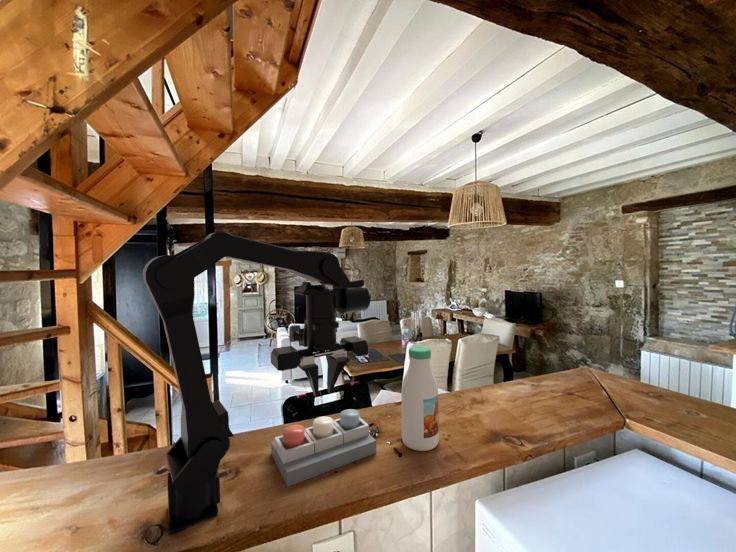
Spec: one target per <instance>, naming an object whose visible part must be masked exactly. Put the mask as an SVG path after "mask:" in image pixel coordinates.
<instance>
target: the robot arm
mask: <svg viewBox="0 0 736 552" xmlns="http://www.w3.org/2000/svg"><path fill="white" fill-rule="evenodd" d="M223 259H231V260H236V261H241V262H246V263H251V264H255V265H260V266H265V267H270V268H276V269H280V270H284V271H287V272H289V273H291V274H293V275H295V276H297V277H299V278H302V279H305V280H307V281H303V282H302V284H301V285H300V286H299V287H297V289H295V291H294V293H295V295H300V296H305V305H306V309H305V310H306V311H305V313H306V315H305V316H306V319H305V320H304V323H303V328H301V326H300V325H292V326H289V327H288V329H289V330H288V331H289V333H288V334H289V342H290V343H297V342H298V346H299V347H301V346H302V347H303V348H302V349H296V348H295V347H294V346H292V345H287V346H282V347H281V346H280V347H275V348H273V349H272V350H271V352H270V364H271V365H272V366H273V367H274V368H275V369H276V370H277V371H279V372H284V371H288V370H295V369H297V368H299V369H300V370H301V371H303V372H304V373H305V375H306V377H307V380H308V383H309V385H310V388H311V391H312V393H313V395H314V397H316V398H317V397H318V396H319V390H320V389H319V386H320V385H319V383H320V382H319V365H318V364H316V363H315V358H321V357H325V359H326V362H327V370H326V371H327V372H326V373H327V374H326V375H327V376H326V377H327V378H326V388H327V389H326V390H327V393H328V394H332V393H333V390H334V388H335V386H336V385H337V382H338V379H339V377H340V375H341V373H342V372H343V370H344V368H345V366H346V364H347V363H350V362H351V359H350V358H349V357H348V355H347V354H348V353H349V352H352V354H353V355H355V356H356V357H361V356H367V355H369V354H370V345H369V344H370V343H368V341H367V340H366V339H364V338H361V337H359V336H356V335H354V336H347V337H342V338H341V339H340V340H339V342H338V341H337V328H338V329H339V328H340V327H339V326H340V323H339V321H337V315H336V314H337V312H338V313H339V314H349V313H356V312H365V311H366V310H368V308H369V307H370V305H371V295H370V292H369V289H368V287H366V285H365V279H352V280H350V279H349V278H348V276H347V274H346V273H345V272H344V270H343V269H342V267H341V265H340V261H339V258H338V256H337V255H336V254H335V253H334V252H331V251H321V250H320V251H318V250H317V251H316V250H296V249H291V248H287V247H284V246H279V245H275V244H272V243H267V242H264V241H259V240H255V239H251V238H248V237H247V238H246V237H243V236H240V235H235V234H232V233H230V232H228V231H225V230H218V231H215V232H212V233H210V234H209V233H208V235H207V236H206V237H205V238H203V239H201V240H200V241H198V242H196V243H194V244H191V245H190V246H189V247H186V248H185V249H182V250H181V251H178V252H177V253H175V254H165V255H159V256H156V257H153V258H152V259H150V260H149V261H148V262H147V263H146V264H145V265H144V267H143V268H142V269H143V270H142V279H143V282H144V284H145V286H146V288H147V290H148V293H149V295H150V297H151V300H152V301H153V304H154V305H155V307H156V309H157V311H158V313H159V315H160V318H161V319H162V323H163V324H162V325H163V327H164V332H165V337H166V340H167V344H168V349H169V354H170V358H171V362H172V367H173V371H174V374H175V379H176V383H177V387H178V388H177V389H178V392H179V396H180V401H181V411H180V412H181V413H180V437H179V438H178V439H177V440H176V441H175V442H174V444H173V445H172V446H171V447H170V449H168V451H166V453H165V456H166V457H165V458H166V461H167V466H168V469H169V472H168V473H167V505H168V506H167V508H168V509H167V511H168V512H167V513H168V514H167V515H168V516H167V533H168V535H170V534H174V533H177V532H179V531H182V530H184V529H187V528H189V527H192V526H195V525H197V524H200V523H202V522H205V521H208V520H210V519H213V518H215V517H217V516H218V515H219V507H218V504H220V502H221V483H220V482H221V481H220V474H219V467H220V463H221V461H222V459H223V458H224V457H225V455H226V454H227V452H229V450H230V446H231V443H230V441H231V440H230V438H233V437H234V433H233V431H232V430H231V429H230V418H229V411H228V410H227V409H226V408H225V406H224V405H223V403H222V402H221V401H220V399H216V400H215V401H213V402H212V398H211V394H210V389H209V384H208V381H207V380H208V379H207V376H206V370H205V366H204V361H203V357H202V352H201V348H200V343H199V338H198V334H197V328H196V324H195V320H194V314H193V313H194V306H195V305H194V304H195V303H194V301H195V294H196V293H195V278H196V277H198V276H199V275H201V274H203V273H205V271H207V270H209V269H210V268H212V267H213V266H214V265H215V264H217V263H218V262H220V261H221V260H223ZM311 282H317V283H319V284H314V285H313V284H312V283H311ZM328 286H332V288H328ZM336 311H337V312H336ZM305 347H306V348H305Z"/></svg>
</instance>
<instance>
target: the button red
mask: <svg viewBox="0 0 736 552" xmlns="http://www.w3.org/2000/svg"><path fill="white" fill-rule="evenodd" d="M304 429H305V426H303V425H301V424H290V425H287V426H286V427H285V428H283V430H282V435H283V446H284V447H285V448H287V449H291V448H294V447H297V446H300V445H303V444H304V443H305V430H304Z"/></svg>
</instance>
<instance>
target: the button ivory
mask: <svg viewBox="0 0 736 552" xmlns="http://www.w3.org/2000/svg"><path fill="white" fill-rule="evenodd" d="M333 420H334V419H333V418H332V417H330V416H324V415H323V416H317V417H316V418H315V419H314V420H313V422H312V426H313V436H314V437H315V438H317V439H322V438H325V437H328V436H332V435H333Z"/></svg>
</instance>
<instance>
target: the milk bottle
mask: <svg viewBox="0 0 736 552" xmlns="http://www.w3.org/2000/svg"><path fill="white" fill-rule="evenodd" d="M431 357H432V350H431V348H430V347H428V346H423V345H414V346H411V347H409V348H408V359H409V363H408V364H409V365H408V367H407V371H406V373H405V374H404V377H403V380H402V384H401V385H402V386H401V440H402V442H403V444H404V445H405V446H406V447H407V448H409V449H411V450H413V451H420V452H426V451H431V450H434V448H436V447H437V446H438V444H439V439H440V438H439V434H440V433H439V432H440V431H439V428H440V427H439V423H440V422H439V421H440V419H439V418H440V416H439V415H440V414H439V410H440V409H439V388H438V383H437V379H436V376H435V375H434V373H433V370H432V366H431V360H432V358H431Z"/></svg>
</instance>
